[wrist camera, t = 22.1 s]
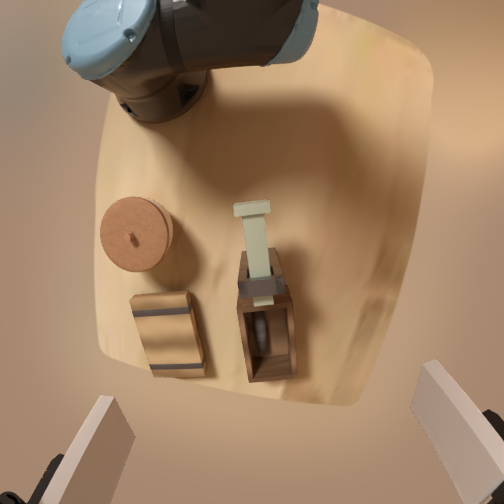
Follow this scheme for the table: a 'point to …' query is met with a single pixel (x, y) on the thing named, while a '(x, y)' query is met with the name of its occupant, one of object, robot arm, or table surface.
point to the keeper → (261, 278)
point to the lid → (169, 333)
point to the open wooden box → (268, 338)
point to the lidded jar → (136, 233)
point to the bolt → (256, 241)
